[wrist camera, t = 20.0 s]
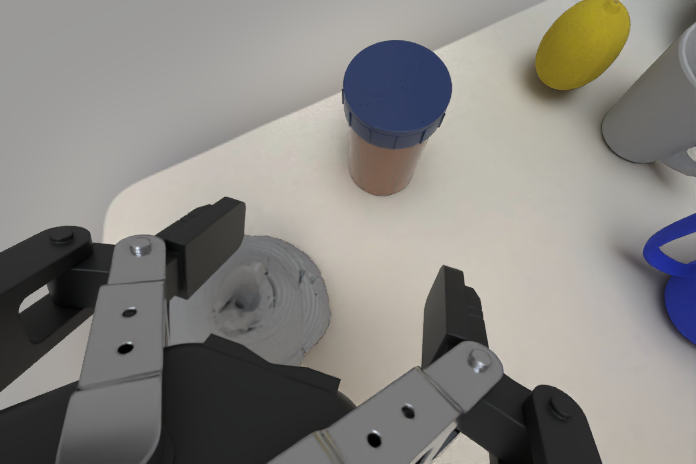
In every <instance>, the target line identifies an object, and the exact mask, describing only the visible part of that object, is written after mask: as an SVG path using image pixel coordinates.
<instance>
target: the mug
mask: <svg viewBox="0 0 696 464" xmlns="http://www.w3.org/2000/svg"><path fill="white" fill-rule="evenodd" d="M694 232H696V213H695V214H693V215H690V216H688V217H686V218H683V219H681V220H679V221H677V222H674V223H673V224H671V225H669V226H667V227H665V228H663V229H662V230H660V231H658V232H657V233H656V234H654V235H653V236H652V237H651V238H650V239H649V240H648V241H647V243H646V244H645V246H644V249H643V256H644V258H645V260H646V261H647V262H648V263H649V264H650V265H651V266H653V267H654V268H656V269H658V270H659V271H661V272H664V273H666V274H669V275H672V276H671V278H670V279H669V281H668V283H667V285H666V289H665V306H666V309H667V313H668V315H669V317H670V319H671V321H672V323H673V324H674V325H675V327H676V328H677V330H678V331H679V332H680V333H681V334H682V335H683V336H684V337H685V338H687V339H688V340H689V341H691V342H692V343H694V344H695V345H696V260H695V261H693V262H690V263H688V264H684V263H680V262H678V261H676V260H674V259H672V258H670V257H668V256H667V255H665V254H664V253H663V252H662V251H661V250H660V249H659V247H660V246H662V245H664V244H666V243H668V242H670V241H672V240H675V239H677V238H680V237H683V236H686V235H688V234H691V233H694Z"/></svg>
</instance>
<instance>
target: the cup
mask: <svg viewBox="0 0 696 464" xmlns="http://www.w3.org/2000/svg"><path fill="white" fill-rule="evenodd" d="M602 131H603V136H604V138H605V141H606V143H607V144H608V145H609V147H610V148H611V149H612V150H613V151H614V152H615V153H616V154H618V155H619V156H621V157H623V158H625V159H626V160H629V161H633V162H637V163H648V162H653V161H656V160H658V161H662V162H663V163H664V164H666V165H667V166H669V167H671V168H672V169H674V170H676V171H678V172H681V173H683V174H685V175H688V176H694V177H696V162H695V161H693V160H692V159H691V158H690V157H689V156H688V154H687V152H686V151H687V150H688V149H689V148H692V147H694V146H696V22H695V23H693V24H692V25H691V26H690V27H689V28H688V29H687V30H685V31H684V32H683V33H682V34H681V35H680V37H679V38H678V39H677V40H676V41H675V42H674V43H673V44H672V45H671V46H670V47H669V48H668V49H667V50H666V51H665V52H664V53H663V54H662V55H661V56H660V57H659V58H658V59H657V60H656V61H655V62H654V63H653V64H652V65H651V66H650V67H649V68H648V69H647V70H646V71H645V72H644V74H643V75H642V76H641V77H640V78H639V79H638V80H637V81H636V82H635V83H634V84H633V85H632V86H631V88H630V89H629V90H628V91H627V92H626V93H625V94H624V95H623V96H622V98H621V99H620V100H619V101H618V102H617V103H616V104H615V105H614V106H613V108H612V109H611V110H610V111H609V112H608V113H607V114H606V116H605V118H604V120H603V124H602Z"/></svg>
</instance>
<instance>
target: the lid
mask: <svg viewBox="0 0 696 464" xmlns="http://www.w3.org/2000/svg"><path fill="white" fill-rule="evenodd" d="M451 94H452V83H451V77H450V74H449V72H448V70H447V67H446V66H445V64H444V63H443V62H442V60H441V59H440V58H439V57H438V56H437V55H436V54H435V53H433V52H432V51H430V50H429V49H427V48H425V47H424V46H421V45H419V44H416V43H413V42H409V41H403V40H389V41H384V42H379V43H376V44H373V45H371V46H369V47H367V48H365V49H364V50H362V51H361V52H359V53H358V54H357V55H356V56H355V57H354V58H353V60H352V61H351V62H350V64H349V66H348V67H347V70H346V72H345V76H344V81H343V89H342V104H344V111H345V116H346V119H347V121H348V123H349V127H350V126H351V128H352V129H353V131H354V132H355V133H356V134H357V135H358V136H359V137H361V138H362V139H363V140H365V141H367V143H368V144H369V143H370V144H372V145H375V146H378V147H381V148H386V149H394V150H396V149H404V148H409V147H412V146H415V145H417V144H422V142H423V141H425V140H426V139H428V138H429V137H430V136H431V135H432V134H433V133H434V132H435V131H436V129H437V128H438V127H440V125H441V123H442V121H443V118H444V116H445V111H446V109H447V106H448V104H449V102H450V99H451Z"/></svg>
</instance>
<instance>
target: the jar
mask: <svg viewBox="0 0 696 464" xmlns="http://www.w3.org/2000/svg"><path fill="white" fill-rule="evenodd" d="M348 136H349V171H350V174H351V177H352V179H353V180H354V182H355V183H356V184H357V185H358V186H359V187H360V188H361V189H362V190H364V191H366V192H368V193H370V194H373V195H380V196H385V195H391V194H395V193H397V192H399V191H401V190H402V189H403V188H405V187H406V186H407V185H408V184H409V182H410V181H411V179H412V177H413V174H414V172H415V170H416V167H417V165H418V163H419V160H420V158H421V156H422V153H423V151H424V149H425V146H426V144H427V141H428V139H429V138H428V139H426V140H425V141H423V142H422V144H417V145H415V146H412V147H409V148H404V149H396V150H394V149H386V148H381V147H378V146H375V145H372V144H370V143H369V144H368V143H367V141H365V140H363V139H362V138H361V137H359V136H358V135H357V134H356V133H355V132H354V131H353V129H352V128H351V126H350V127H349V123H348Z"/></svg>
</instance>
